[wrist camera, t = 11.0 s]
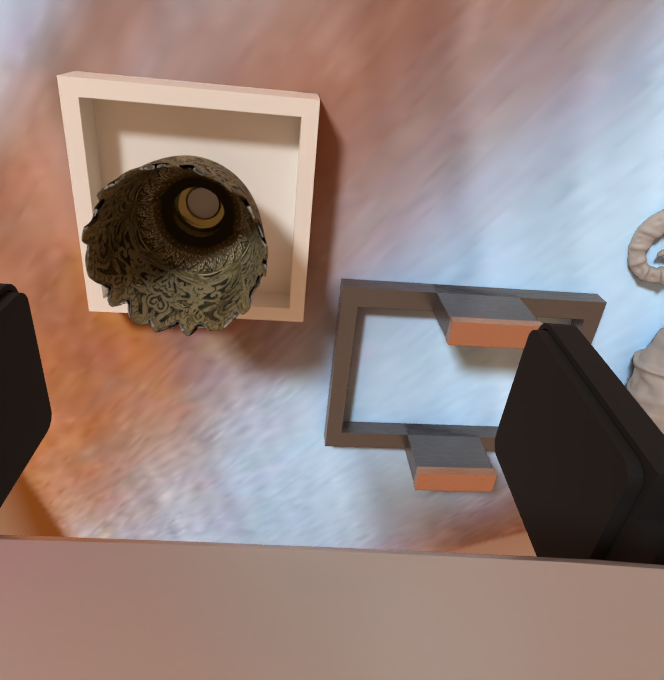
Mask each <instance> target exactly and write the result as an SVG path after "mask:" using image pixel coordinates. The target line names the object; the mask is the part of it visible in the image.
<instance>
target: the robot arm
mask: <svg viewBox="0 0 664 680" xmlns="http://www.w3.org/2000/svg"><path fill="white" fill-rule="evenodd" d="M51 416H52V413H51V407H50V402H49V397H48V392H47V387H46V383H45V378H44V373H43V368H42V363H41V359H40V354H39V349H38V344H37V339H36V335H35V330H34V325H33V320H32V316H31V311H30V306H29V302H28V298H27V297H26V295H25V294H24V293H18V291H17V289H16V287H15V286H13V285H12V284H1V283H0V507H1V506H2V504H3V502H4V501H5V499H6V497H7V496H8V494H9V493H10V491H11V490H12V488H13V486H14V485H15V483H16V481H17V480H18V478H19V477H20V475H21V473H22V472H23V470H24V468H25V467H26V465H27V464H28V462H29V460H30V459H31V457H32V456H33V454H34V452H35V451H36V449H37V447H38V446H39V444H40V443H41V441H42V439H43V438H44V436H45V434H46V433H47V431H48V429H49V427H50V423H51ZM495 453H496V456H497V459H498V461H499V463H500V466H501V468H502V471H503V473H504V476H505V478H506V481H507V483H508V486H509V488H510V491H511V493H512V496H513V498H514V501H515V503H516V506H517V508H518V511H519V513H520V516H521V518H522V521H523V523H524V526H525V528H526V531H527V533H528V536H529V538H530V540H531V543H532V546H533V548H534V551H535V553H536V555H537V557H531V556H511V555H510V556H509V555H489V554H467V553H446V552H424V551H402V550H380V549H358V548H334V547H309V546H285V545H261V544H235V543H210V542H185V541H159V540H130V539H102V538H73V537H44V536H16V535H0V680H664V434H663V433H662V432H661V430H660V429H659V428H658V427H657V425H656V424H655V423H654V422H653V421H652V419H651V418H650V417H649V416H648V414H647V413H646V412H645V411H644V409H643V408H642V407H641V406H640V404H639V403H638V402H637V401H636V399H635V398H634V397H633V396H632V395H631V393H630V392H629V391H628V390H627V388H626V387H625V386H624V385H623V383H622V382H621V381H620V380H619V378H618V377H617V376H616V375H615V373H614V372H613V371H612V370H611V369H610V367H609V366H608V365H607V364H606V362H605V361H604V360H603V359H602V357H601V356H600V355H599V354H598V352H597V351H596V350H595V349H594V347H593V346H592V345H591V344H590V343H589V341H588V340H587V339H586V338H585V336H584V335H583V334H582V333H581V331H580V330H579V329H578V328H577V327H576V326H575V325H564V324H550V323H544V324H542V325H541V326H540V327H539V328H538V330H532V331H531V332H530V333H529V336H528V338H527V341H526V344H525V347H524V350H523V353H522V356H521V359H520V363H519V366H518V369H517V372H516V375H515V378H514V381H513V384H512V387H511V390H510V393H509V396H508V399H507V402H506V405H505V408H504V411H503V415H502V418H501V421H500V424H499V427H498V430H497V433H496V436H495Z"/></svg>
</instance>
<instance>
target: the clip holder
mask: <svg viewBox="0 0 664 680" xmlns="http://www.w3.org/2000/svg"><path fill="white" fill-rule="evenodd" d="M606 303H607V302H605V301H604V300H603V299H602V298H601V297H600V296H599V295H598V294H587V293H570V292H554V291H537V290H520V289H504V288H487V287H471V286H454V285H438V284H421V283H404V282H388V281H371V280H355V279H341V287H340V296H339V305H338V314H337V323H336V332H335V341H334V350H333V359H332V369H331V378H330V387H329V396H328V405H327V414H326V423H325V432H324V438H325V446H340V447H374V448H405V451H406V455H407V459H408V462H409V466H410V470H411V474H412V478H413V481H414V487H415V490H439V491H486V492H492V490H493V487H494V483H495V480H496V477H497V474H496V472H495V469H493V467H492V465H491V463H490V460H489V458H488V456H487V454H486V452H485V451H495V436H496V433H497V430H498V427H490V426H461V425H431V424H401V423H372V422H343V418H344V410H345V403H346V395H347V387H348V379H349V372H350V364H351V356H352V349H353V341H354V333H355V325H356V318H357V310H358V307H369V308H387V309H405V310H423V311H433V312H434V314H435V316H436V318H437V320H438V322H439V325H440V327H441V329H442V331H443V333H444V335H445V337H446V341H447V343H448V345H459V346H479V347H500V348H520V349H524V347H525V344H526V341H527V338H528V336H529V333H530V332H531V331H532V330H538V328H539V327H540V326H541V325H542V323H541V321H538V320H537V319H536V318H535V317H550V318H568V319H573V320H572V323H571V325H575V326H576V327H577V328H578V329H579V330H580V331H581V333H582V334H583V335H584V336H585V338H586V339H587V340H588V341H589V343H590V344H591V343H592V340H593V338H594V335H595V332H596V330H597V327H598V325H599V322H600V319H601V317H602V314H603V311H604V309H605V306H606Z"/></svg>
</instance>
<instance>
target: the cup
mask: <svg viewBox="0 0 664 680" xmlns="http://www.w3.org/2000/svg"><path fill="white" fill-rule="evenodd" d="M198 188H204V189H207V190H209V191H211V192H212V193H214V194H215V195H216V196H217V198H218V201H219V208H218V211H217V212H216V214H215V215H213V216H212V217H210V218H200V217H197V216H195V215H194V214H193V213H192V212H191V211H190V209H189V207H188V197H189V195H190V193H191V192H192V191H193V190H195V189H198ZM96 196H97V197H98V201H99V202H98V204H97V205H96V206H95V208H94V214H93V217H92V220H91V221H90V222H89V223H88V224H87V225H86V226H84V228H83V232H82V242H83V243H84V244H86V245H87V250H86V254H85V265H86V270H87V275H88V277H89V278H90V279H91V280H93V281H94V282H96V283H98V284H101V285H103V286H104V287H105V288H107V289H108V294H107V301H108V303H109V305H110V306H111V307H115V306H121V305H122V304H126V303H127V304H128V314H129V317H130V319H131V320H132V321H133V322H134V323H136V324H138V325H146V324H149V325H150V326H152V328H153V330H154V331H155V332H160V331H163V330H166V329H168V328H170V329H172V328H174V327H175V326H176V325H179V326H180V328H181V331H182V332H183V333H184V334H185V335H186V336H190V335H192V334H193V333H194V332H195V331H196V330H197V329H198V328H199V327H200V328H206V329H207V330H209V331H210V330H223V329H225V328H226V327H227V326H228V325H229V324H230V323H231V322H232V321H233V320H235V319H236V318H237V317H238V315H239V314H242V315H244V314H245V313H247V312H248V311H249V309H250V308H251V305H252V298H253V294H254V292H255V290H256V289H257V288H258V287H259V286H260V283H261V278H262V276H264V277H266V273H267V258H268V247H267V242H266V239H265V236H264V230H263V225H262V221H261V217H260V213H259V210H258V208H257V205H256V203H255V200H254V198H253V196H252V195H251V193H250V191H249V190H248V188H247V187H246V186H245V184H244V183H243V182H242V181H241V180H240V179H239V178H238V177H237V176H236V175H235V174H234V173H233V172H231V171H230V170H229V169H227V168H226V167H224V166H222V165H221V164H219V163H217V162H214V161H212V160H209V159H206V158H202V157H198V156H189V155H181V156H171V157H166V158H162V159H159V160H156V161H153V162H150V163H147V164H145V165H143V166H141V167H138V168H134V169H131V170H129V171H127V172H125V173H123V174H122V175H120V176H119V177H118V178H116V179H115V180H114V181H112V182H110V183H109V184H107V185H106V186H104V187H103V188H102V189H101V190H100V191H99V192H98V193H97V195H96ZM124 302H125V303H124ZM121 303H122V304H121Z"/></svg>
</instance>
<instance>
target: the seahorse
mask: <svg viewBox="0 0 664 680" xmlns="http://www.w3.org/2000/svg"><path fill="white" fill-rule="evenodd" d="M663 234H664V210H661V211H659V212H657V213H656V214H654V215H652V216H650V217H649V218H648V219H647V220H645V221H644V222H643V223H642V224H641V225H640V226H639V227H638V228H637V230H636V232H635V233H634V235H633V237H632V240H631V242H630V244H629V247H628V248H629V249H628V265H629V267H630V269H631V270H632V271H633V273H634V274H635V275H636V276H638V277H639V279H640V280H644V281H647V282H650V283H660V284H664V267H663V266H660V267H658V268H655V267H652V266H649V265H648V264H647V258H646V251H647V250H648V249H649V248H650V247H651V245H652V242H653V241H654V240H655V239H656V238H659V237H661V236H662V235H663ZM660 256H664V249H663V250H661V251H660V252H658V254H657V257H660ZM633 363H634V366H635V368H634V371H633V375H632V377H631V378H630V379H629V381H628V383H627V390H628V391H629V392H630V393H631V395H632V396H633V397H634V398H635V399H636V401H637V402H638V403H639V404H640V406H641V407H642V408H643V409H644V411H645V412H646V413H647V414H648V416H649V417H650V418H651V419H652V421H653V422H654V423H655V424H656V425H657V427H658V428H659V429H660V430H661V432H662V433H663V434H664V328H661V329H660V330H659V331H658V333H657V335H656V336H655V338H654V339H653V341H652V343H651V344H650V345H649V346H648V347H646V348H645V349H642V350H639V351H636V352H635V354H634V359H633Z"/></svg>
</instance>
